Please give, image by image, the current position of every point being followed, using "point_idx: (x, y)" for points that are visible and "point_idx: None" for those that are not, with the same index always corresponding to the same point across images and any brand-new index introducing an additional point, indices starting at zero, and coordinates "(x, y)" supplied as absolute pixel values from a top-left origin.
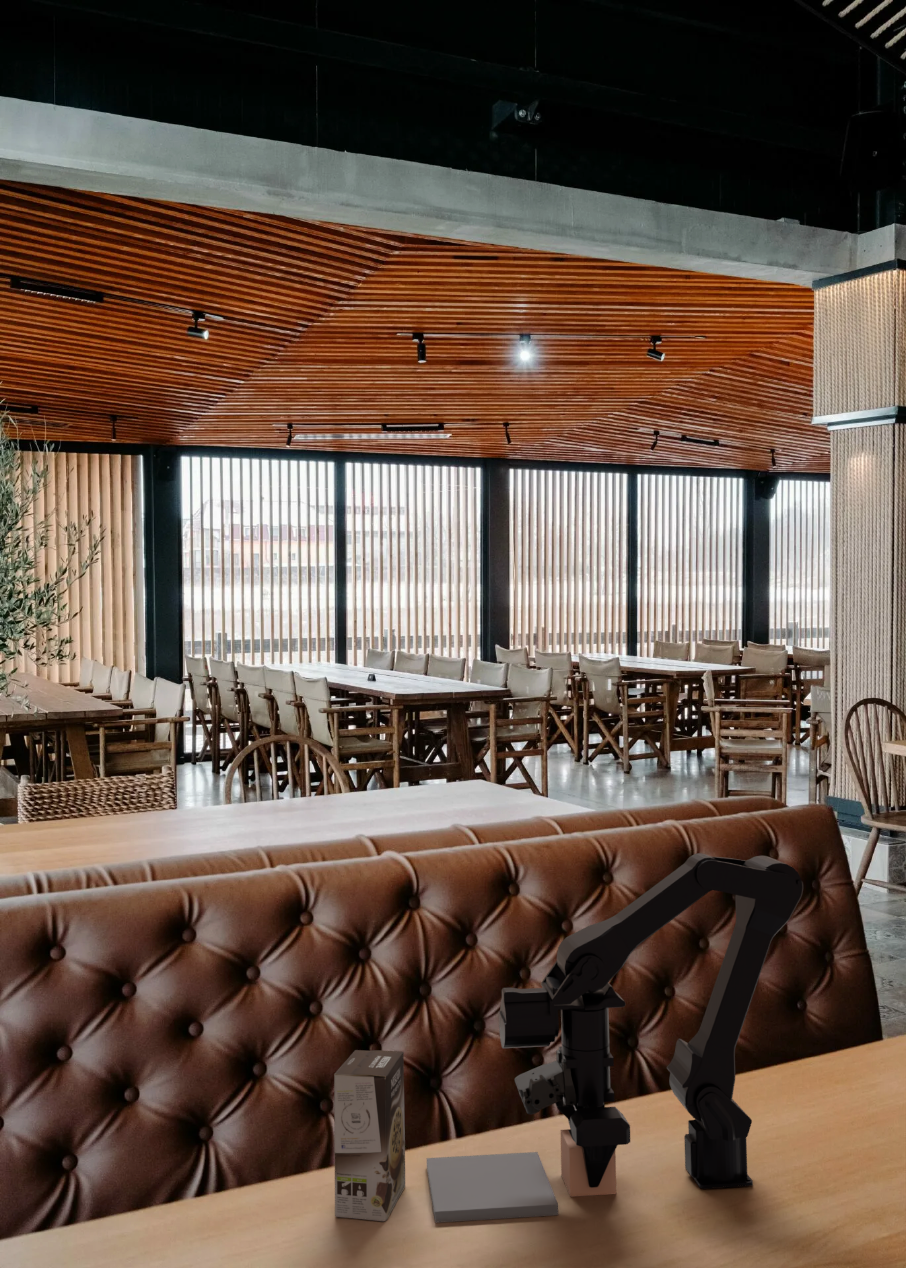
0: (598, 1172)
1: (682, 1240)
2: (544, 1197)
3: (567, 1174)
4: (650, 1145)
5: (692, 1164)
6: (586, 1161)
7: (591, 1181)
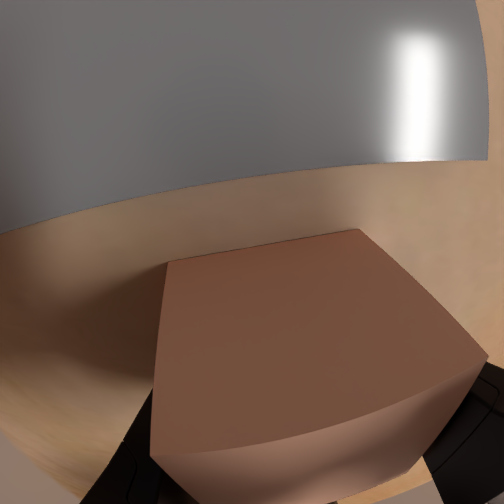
0: None
1: (41, 439)
2: (28, 169)
3: (228, 292)
4: None
5: None
6: (118, 451)
7: None
